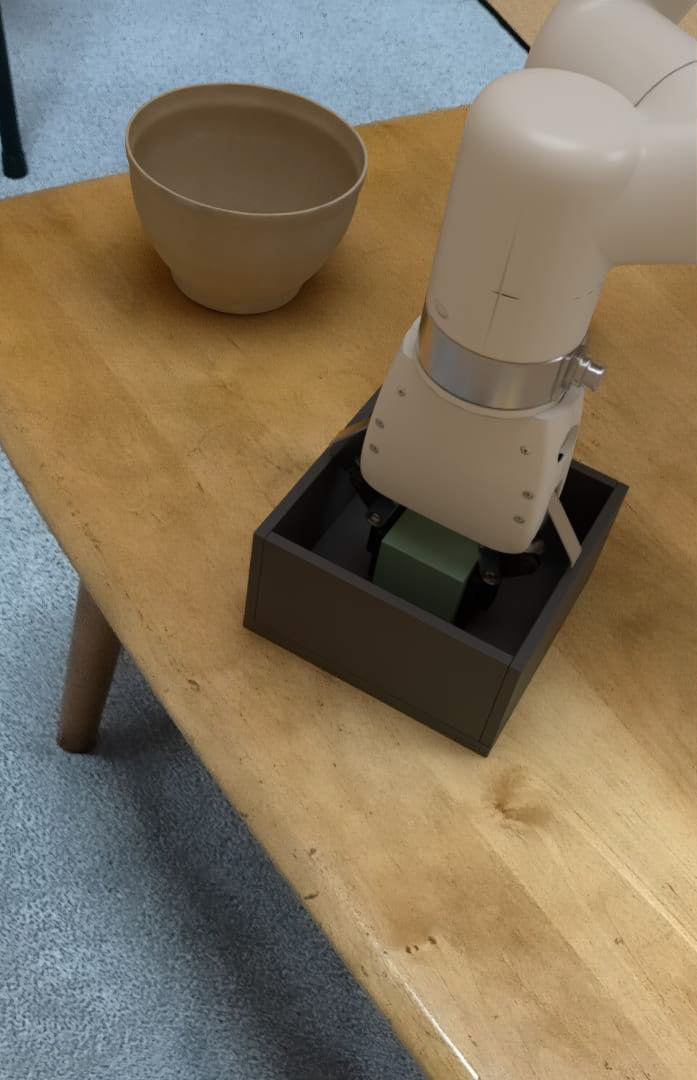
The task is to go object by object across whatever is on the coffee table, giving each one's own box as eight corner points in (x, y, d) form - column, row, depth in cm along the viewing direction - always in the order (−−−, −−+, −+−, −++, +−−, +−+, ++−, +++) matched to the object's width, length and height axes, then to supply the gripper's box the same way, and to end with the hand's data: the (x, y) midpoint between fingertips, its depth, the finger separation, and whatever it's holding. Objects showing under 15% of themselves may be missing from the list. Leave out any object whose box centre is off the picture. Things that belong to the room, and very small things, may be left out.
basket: (590, 575, 76) (630, 485, 70) (486, 758, 66) (521, 672, 60) (371, 467, 79) (391, 373, 73) (242, 626, 70) (252, 532, 64)
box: (482, 581, 73) (501, 525, 69) (445, 638, 70) (463, 582, 66) (407, 543, 74) (422, 486, 70) (368, 597, 71) (381, 540, 67)
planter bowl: (364, 348, 87) (388, 217, 79) (130, 348, 84) (130, 211, 75) (331, 212, 97) (349, 84, 89) (121, 208, 94) (120, 74, 86)
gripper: (691, 374, 58) (585, 609, 72) (376, 234, 62) (332, 482, 76) (637, 466, 54) (534, 699, 67) (300, 308, 58) (268, 559, 71)
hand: (427, 582), depth 71 cm, fingers closed on box, 5 cm apart
